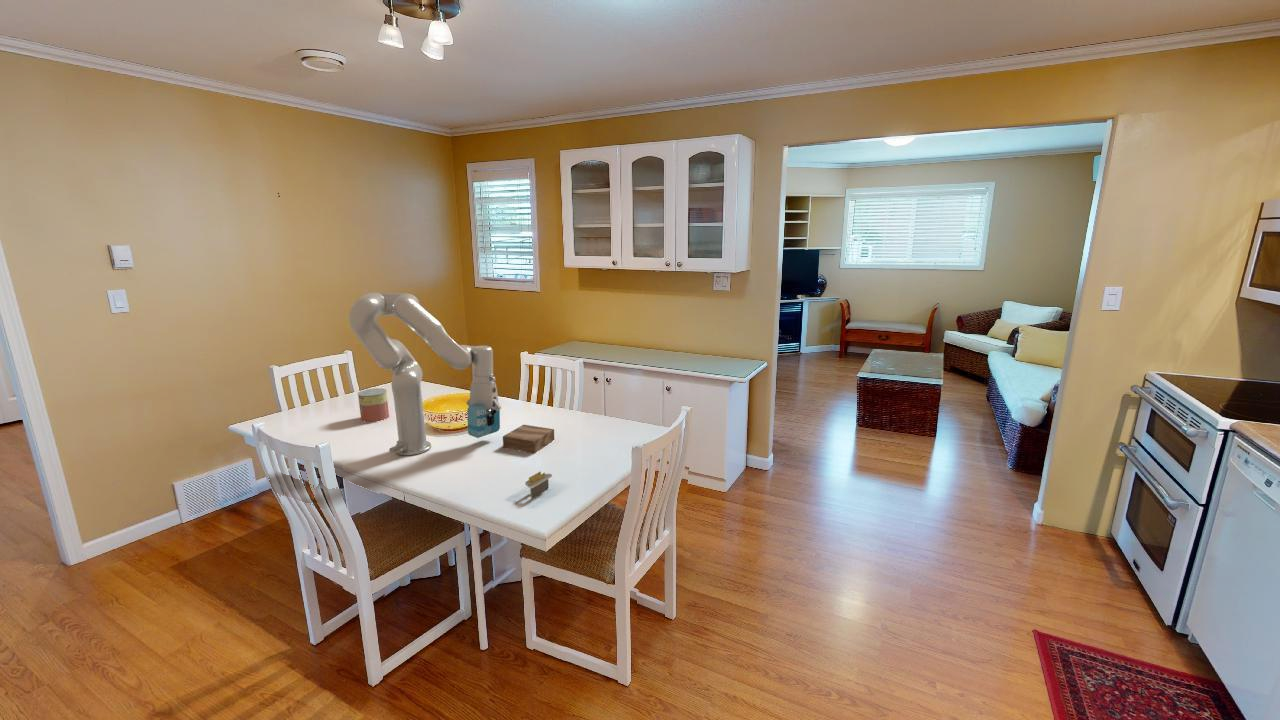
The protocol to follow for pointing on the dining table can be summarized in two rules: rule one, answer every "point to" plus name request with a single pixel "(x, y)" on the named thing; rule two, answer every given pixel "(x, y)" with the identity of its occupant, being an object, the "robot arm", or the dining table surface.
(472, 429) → the blue flat box
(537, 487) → the platform
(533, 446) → the walnut base block
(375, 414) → the canned food
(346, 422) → the dining table surface
